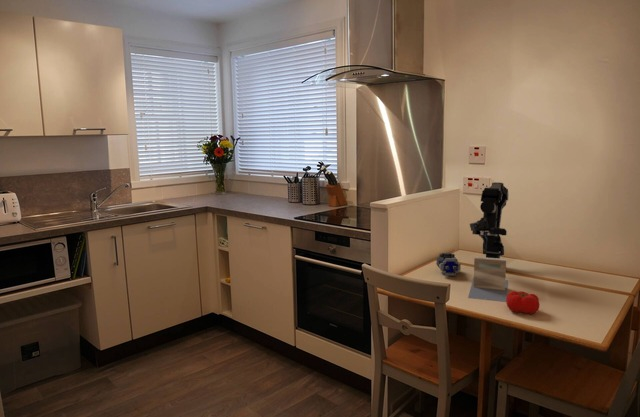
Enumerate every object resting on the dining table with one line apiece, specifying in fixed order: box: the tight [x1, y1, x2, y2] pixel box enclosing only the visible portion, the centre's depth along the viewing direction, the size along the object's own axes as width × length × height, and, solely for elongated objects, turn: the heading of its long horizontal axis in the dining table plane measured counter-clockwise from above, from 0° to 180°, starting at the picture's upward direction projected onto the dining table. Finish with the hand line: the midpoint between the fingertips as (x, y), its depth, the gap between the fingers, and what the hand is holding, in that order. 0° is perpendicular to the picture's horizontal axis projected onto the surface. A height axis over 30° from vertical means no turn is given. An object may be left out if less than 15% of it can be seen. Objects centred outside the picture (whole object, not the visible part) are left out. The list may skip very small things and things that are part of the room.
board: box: [473, 256, 507, 290], centre depth 190 cm, size 3×12×12 cm, turn 68°
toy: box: [435, 252, 462, 277], centre depth 211 cm, size 9×9×15 cm
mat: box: [467, 277, 509, 303], centre depth 190 cm, size 28×14×1 cm, turn 158°
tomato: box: [505, 290, 540, 315], centre depth 166 cm, size 10×11×6 cm
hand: (487, 251), depth 205 cm, fingers closed
